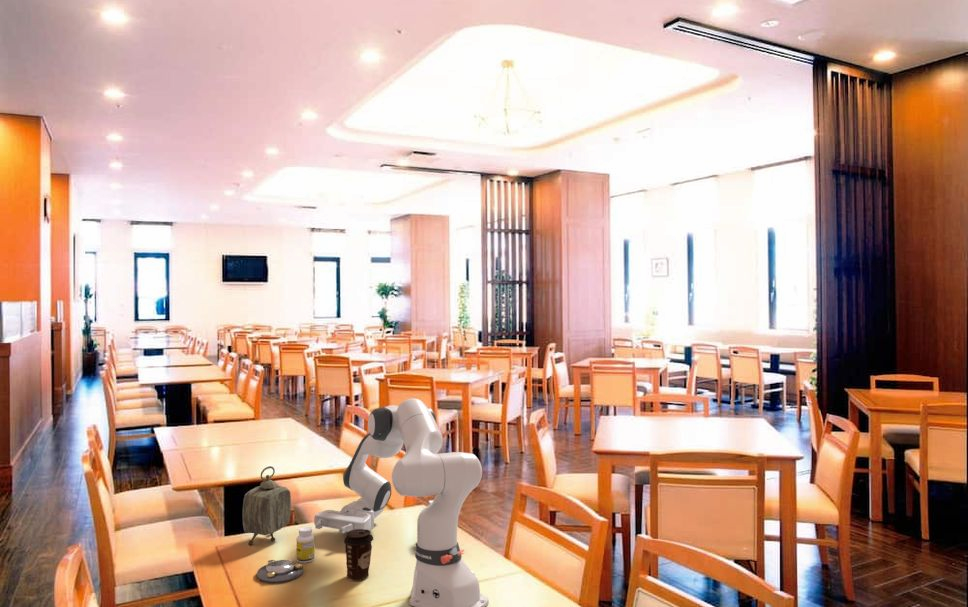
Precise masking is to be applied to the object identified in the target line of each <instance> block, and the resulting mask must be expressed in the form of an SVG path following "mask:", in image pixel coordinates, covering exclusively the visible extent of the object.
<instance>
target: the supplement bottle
mask: <svg viewBox="0 0 968 607" xmlns="http://www.w3.org/2000/svg"><path fill="white" fill-rule="evenodd" d="M314 560H315V535H313V528H312V527H310V526H302V527H299V529H298V536H297V537H296V561H297V563H302V564H307V562H308V563H311V562H313V561H314Z"/></svg>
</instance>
